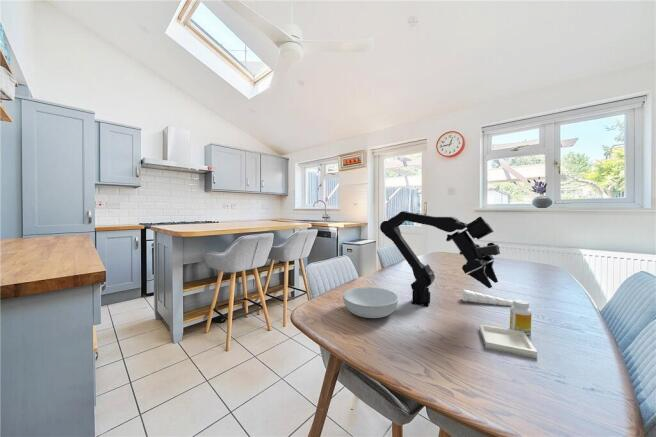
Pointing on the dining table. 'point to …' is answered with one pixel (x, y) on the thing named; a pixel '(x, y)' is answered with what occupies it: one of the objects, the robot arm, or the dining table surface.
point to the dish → (507, 341)
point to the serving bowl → (370, 301)
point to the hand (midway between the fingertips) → (493, 284)
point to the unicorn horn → (484, 298)
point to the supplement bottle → (520, 316)
